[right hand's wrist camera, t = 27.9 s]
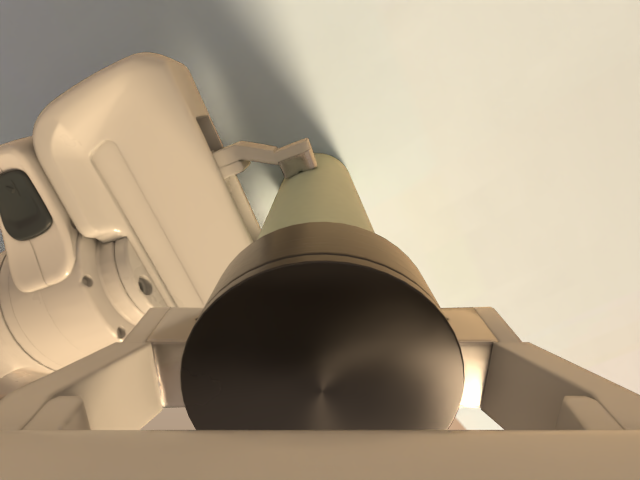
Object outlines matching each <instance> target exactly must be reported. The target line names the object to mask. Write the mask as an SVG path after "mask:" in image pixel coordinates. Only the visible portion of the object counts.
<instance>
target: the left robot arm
mask: <svg viewBox="0 0 640 480" xmlns="http://www.w3.org/2000/svg"><path fill="white" fill-rule="evenodd" d="M250 161H254V162H261V163H268V164H275V165H280V168H281V170H282V172H283V174H284V177H285V179H288V178H290V177H293V176H295V175H297V174H298V173H299V172H300V171H304V172H305V171H309V170H311V169H314V168H315V167H317V161H316V158H315V155H314V152H313V150H312V147H311V144H310V142H309V139H308V138H305V139H302V140H299V141H296V142H294V143H291V144H289V145H286V146H284V147H281V148H277V147H276V146H270V145H265V144H259V143H253V142H247V141H239V142H237V143H234V144H232V145H229V146H227V147H223V144H222V142H221V140H220V138H219V136H218V133H217V131H216V129H215V127H214V124H213V122H212V120H211V118H210V116H209V113H208V111H207V109H206V107H205V105H204V102H203V100H202V98H201V96H200V94H199V91H198V89H197V87H196V85H195V82H194V80H193V78H192V76H191V74H190V72H189V70H188V68H187V67H186V66H185V65H184V64H182V63H180V62H178V61H175V60H173V59H171V58H169V57H166V56H164V55H160V54H157V53H151V52H142V53H137V54H133V55H131V56H128V57H126V58H124V59H121V60H119V61H117V62H115V63H113V64H111V65H109V66H107V67H105V68H104V69H102V70H100V71H98V72H96V73H94V74H93V75H91V76H89V77H88V78H86V79H84V80H83V81H81V82H79V83H78V84H76V85H74V86H73V87H71V88H70V89H68V90H67V91H66V92H64V93H63V94H61V95H60V96H58V97H57V98H56V99H54V100H53V101H52V102H50V103H49V104H48V105H47V106H46V107H45V108H44V109H43V110H42V112H41V113H40V115H39V116H38V118H37V120H36V122H35V124H34V128H33V134H32V136H30V137H25V138H21V139H18V140H14V141H11V142H8V143H5V144H2V145H0V229H1V232H2V236H3V240H4V245H5V249H6V250H5V251H3V252H2V253H0V400H1V399H3V398H4V397H5V396H6V395H7V394H9V393H11V392H13V391H15V390H17V389H19V388H21V387H23V386H25V385H27V384H29V383H32V382H34V381H36V380H38V379H40V378H42V377H44V376H46V375H48V374H50V373H52V372H55V371H57V370H59V369H61V368H63V367H65V366H67V365H69V364H71V363H73V362H75V361H78V360H80V359H82V358H84V357H86V356H88V355H90V354H92V353H94V352H96V351H98V350H100V349H103V348H105V347H107V346H109V345H111V344H113V343H115V342H122V341H123V340H124V339H125V338H126V337H127V335H128V334H129V333H130V332H131V330H132V329H133V328H134V327H135V326H136V324H137V323H138V322H139V321H140V320H141V318H142V317H143V316H144V315H145V313H146V312H147V311H148V310H149V309H150V308H153V307H190V308H204V306H205V304H206V303H207V301H208V299H209V297H210V295H211V294H212V292H213V290H214V288H215V286H216V285H217V283H218V281H219V279H220V277H221V276H222V274H223V273H224V271H225V270H226V268H227V267H228V265H229V264H230V263H231V262H232V260H233V259H234V258H235V257H236V256H237V255H238V254H239V253H240V252H241V251H242V250H244V249H245V248H246V247H247V246H249V245H250V244H251V243H253V242H254V241H256V240H257V239H258V236H259V234H260V232H261V228H260V226H259V224H258V222H257V220H256V217H255V215H254V213H253V211H252V209H251V206H250V204H249V202H248V200H247V197H246V195H245V193H244V191H243V189H242V186H241V184H240V182H239V180H238V178H237V175H236V174H238V173H240V172H243V171H244V170H245V169H246V168H247V167H248V166H249V165H250V163H251V162H250Z"/></svg>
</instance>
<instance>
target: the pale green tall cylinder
mask: <svg viewBox="0 0 640 480" xmlns="http://www.w3.org/2000/svg"><path fill="white" fill-rule="evenodd" d="M314 155H315V158H316V161H317V167H315V168H314V169H311V170H309V171H305V172H304V171H300V172H299V173H298V174H297V175H295V176H293V177H290V178H288V179H285V177H284V179H283V181H282V184H281V186H280V188H279V191H278V193H277V195H276V197H275V200H274V202H273V204H272V207H271V209H270V211H269V214H268V216H267V218H266V220H265V223H264V225H263V227H262V230H261V232H260V234H259V236H258V239H259V238H261V237H262V236H264V235H267V234H269V233H271V232H273V231H276V230H278V229H281V228H284V227H288V226H291V225H296V224H302V223H308V222H334V223H343V224H348V225H352V226H357V227H360V228H363V229H365V230H368V231H371V232H373V233H375V232H374V230H373V228H372V225H371V223H370V221H369V218H368V216H367V214H366V211H365V209H364V207H363V204H362V202H361V200H360V197H359V195H358V193H357V190H356V188H355V186H354V183H353V181H352V179H351V176H350V174H349V172H348V170H347V169H346V167H345V166H344V165H343V164H342V163H341V162H340V161H339V160H338V159H336V158H334V157H332V156H330V155H327V154H322V153H314ZM258 239H257V240H258Z"/></svg>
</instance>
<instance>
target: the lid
mask: <svg viewBox="0 0 640 480" xmlns="http://www.w3.org/2000/svg"><path fill="white" fill-rule="evenodd" d="M464 380H465V374H464V361H463V356H462V351H461V347H460V345H459V342H458V339H457V337H456V334H455V332H454V330H453V329H452V327H451V325H450V323H449V322H448V320H447V318H446V316H445V315H444V313H443V311H442V310H441V308H440V306H439V304H438V303H437V301H436V299H435V297H434V296H433V294H432V292H431V290H430V289H429V287H428V285H427V283H426V282H425V280H424V278H423V277H422V275H421V273H420V272H419V270H418V268H417V267H416V266H415V265H414V263H413V262H412V261H411V260H410V258H409V257H408V256H407V255H406V254H405V253H403V252H402V251H401V250H400V249H399V248H398V247H397V246H395V245H394V244H392V243H391V242H389V241H388V240H387V239H385V238H383V237H381V236H379V235H377V234H375V233H373V232H371V231H368V230H365V229H363V228H360V227H357V226H352V225H348V224H343V223H334V222H308V223H302V224H296V225H291V226H288V227H284V228H281V229H278V230H276V231H273V232H271V233H269V234H267V235H264V236H262V237H261V238H259V239H258V240H256V241H254V242H253V243H251V244H250V245H249V246H247V247H246V248H245V249H244V250H242V251H241V252H240V253H239V254H238V255H237V256H236V257H235V258H234V259H233V260H232V262H231V263H230V264H229V265H228V267H227V268H226V270H225V271H224V273H223V274H222V276H221V277H220V279H219V281H218V283H217V285H216V286H215V288H214V290H213V292H212V294H211V295H210V297H209V299H208V301H207V303H206V304H205V306H204V308H203V310H202V312H201V314H200V315H199V317H198V319H197V321H196V323H195V324H194V326H193V328H192V330H191V332H190V334H189V337H188V339H187V341H186V344H185V347H184V350H183V354H182V358H181V367H180V387H181V392H182V397H183V402H184V405H185V408H186V410H187V413H188V416H189V418H190V420H191V421H192V423H193V425H194V427H195V429H196V430H448V429H449V427H450V425H451V424H452V422H453V420H454V418H455V416H456V414H457V411H458V409H459V406H460V403H461V399H462V395H463V389H464Z"/></svg>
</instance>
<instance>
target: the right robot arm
mask: <svg viewBox="0 0 640 480" xmlns="http://www.w3.org/2000/svg"><path fill="white" fill-rule="evenodd" d="M202 310H203V308H190V307H153V308H150V309H149V310H148V311H147V312H146V313H145V315H144V316H143V317H142V318H141V320H140V321H139V322H138V323H137V324H136V326H135V327H134V328H133V329H132V330H131V332H130V333H129V334H128V335H127V337H126V338H125V339H124V340H123V341H122V342H115V343H113V344H111V345H109V346H107V347H105V348H103V349H100V350H98V351H96V352H94V353H92V354H90V355H88V356H86V357H84V358H82V359H80V360H78V361H75V362H73V363H71V364H69V365H67V366H65V367H63V368H61V369H59V370H57V371H55V372H52V373H50V374H48V375H46V376H44V377H42V378H40V379H38V380H36V381H34V382H32V383H29V384H27V385H25V386H23V387H21V388H19V389H17V390H15V391H13V392H11V393H9V394H7V395H6V396H5V397H4V398H3V399H1V400H0V480H640V395H639V394H636V393H634V392H632V391H630V390H628V389H626V388H624V387H622V386H620V385H618V384H615V383H613V382H611V381H609V380H607V379H605V378H603V377H601V376H599V375H597V374H594V373H592V372H590V371H588V370H586V369H584V368H582V367H580V366H578V365H576V364H573V363H571V362H569V361H567V360H565V359H563V358H561V357H559V356H557V355H555V354H552V353H550V352H548V351H546V350H544V349H542V348H540V347H538V346H536V345H533V344H531V343H529V342H522V341H521V340H520V339H519V337H518V336H517V335H516V334H515V333H514V332H513V330H512V329H511V328H510V327H509V326H508V324H507V323H506V322H505V321H504V320H503V319H502V317H501V316H500V315H499V314H498V313H497V311H496V310H495V309H494V308H492V307H463V308H441V310H442V311H443V313H444V315H445V316H446V318H447V320H448V322H449V323H450V325H451V327H452V329H453V330H454V332H455V334H456V337H457V339H458V342H459V345H460V347H461V351H462V356H463V361H464V374H465V380H464V389H463V395H462V399H461V403H460V406H459V407H470V408H481V410H482V411H483V412H485V413H486V414H487V415H488V416H489V417H490V418H492V419H493V420H494V421H495V422H496V423H497V424H499V425H500V426H501V427H502V428H503V429H504V430H140V429H141V428H142V427H144V426H145V425H146V424H147V423H148V422H149V421H150V420H152V419H153V418H154V417H155V416H156V415H157V414H159V413H160V412H161V411H162V410H163V408H173V407H185V405H184V402H183V397H182V392H181V387H180V367H181V358H182V354H183V350H184V347H185V344H186V341H187V339H188V337H189V334H190V332H191V330H192V328H193V326H194V324H195V323H196V321H197V319H198V317H199V315H200V314H201V312H202Z"/></svg>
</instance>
